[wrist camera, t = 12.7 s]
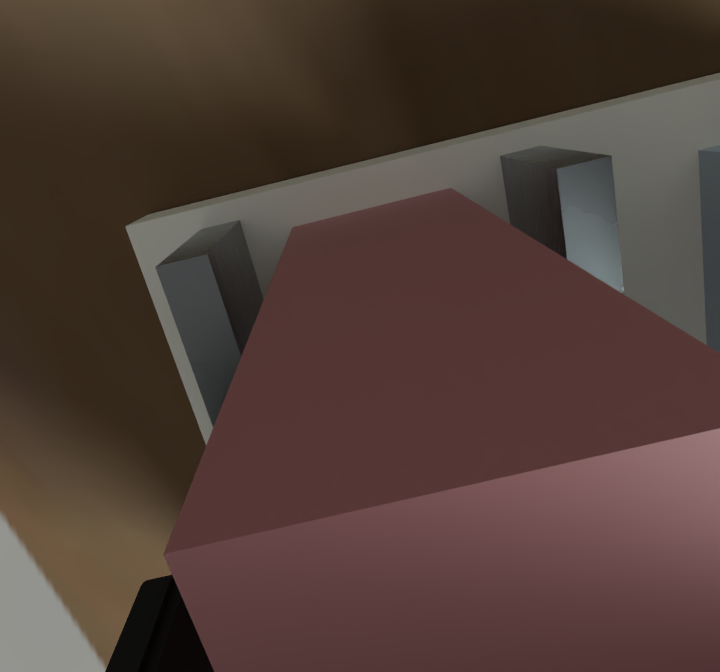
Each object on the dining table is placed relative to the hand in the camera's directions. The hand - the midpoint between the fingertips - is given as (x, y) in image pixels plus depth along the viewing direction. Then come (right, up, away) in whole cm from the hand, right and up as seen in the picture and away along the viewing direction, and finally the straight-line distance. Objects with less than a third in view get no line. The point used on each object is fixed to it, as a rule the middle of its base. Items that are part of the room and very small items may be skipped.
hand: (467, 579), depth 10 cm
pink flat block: (0, +2, +6) cm, 7 cm away
